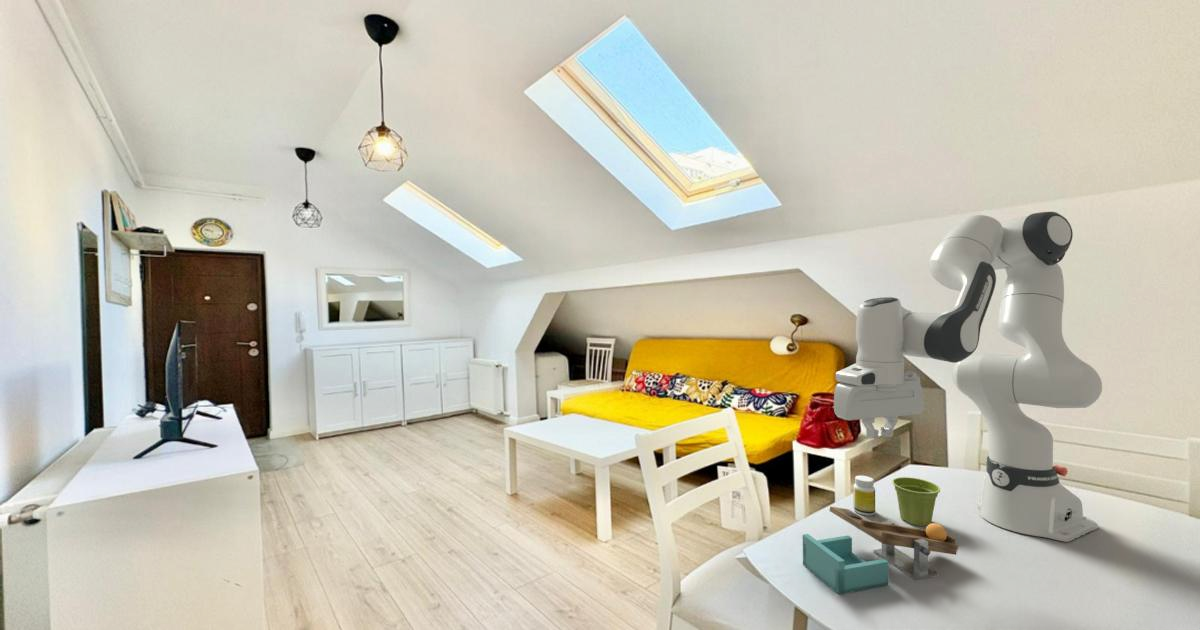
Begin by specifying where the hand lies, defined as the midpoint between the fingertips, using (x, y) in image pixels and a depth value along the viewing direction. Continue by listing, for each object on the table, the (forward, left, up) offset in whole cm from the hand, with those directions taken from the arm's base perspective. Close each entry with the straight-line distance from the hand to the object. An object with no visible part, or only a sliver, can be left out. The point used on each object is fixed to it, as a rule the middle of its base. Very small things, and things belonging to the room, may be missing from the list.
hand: (879, 436), depth 100 cm
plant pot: (-16, -6, -23) cm, 29 cm away
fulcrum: (+2, +8, -23) cm, 25 cm away
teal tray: (+16, +8, -23) cm, 29 cm away
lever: (+1, +4, -19) cm, 19 cm away
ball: (-6, +8, -18) cm, 20 cm away
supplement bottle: (-8, -13, -23) cm, 28 cm away
